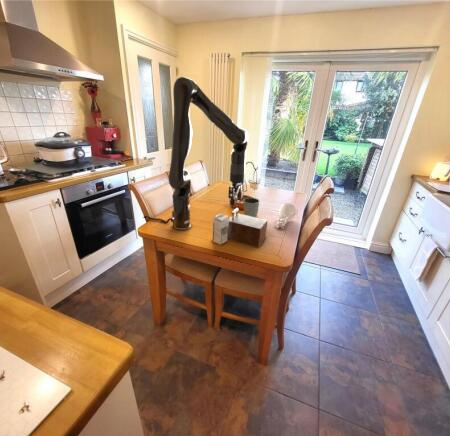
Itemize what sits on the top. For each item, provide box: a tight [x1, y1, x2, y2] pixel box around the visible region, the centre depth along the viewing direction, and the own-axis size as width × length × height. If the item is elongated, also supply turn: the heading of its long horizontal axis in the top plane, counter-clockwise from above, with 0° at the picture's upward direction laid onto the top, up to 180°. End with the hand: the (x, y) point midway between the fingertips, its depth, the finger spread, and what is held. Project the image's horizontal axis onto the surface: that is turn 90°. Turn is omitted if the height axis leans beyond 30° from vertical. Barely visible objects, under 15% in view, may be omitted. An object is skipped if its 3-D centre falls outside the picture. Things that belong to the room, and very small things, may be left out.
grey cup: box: [242, 197, 260, 218], centre depth 149 cm, size 10×10×12 cm
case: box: [228, 221, 268, 248], centre depth 125 cm, size 18×12×10 cm, turn 64°
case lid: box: [229, 207, 268, 230], centre depth 122 cm, size 18×12×5 cm, turn 64°
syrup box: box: [212, 213, 230, 246], centre depth 120 cm, size 6×6×14 cm
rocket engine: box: [275, 202, 298, 230], centre depth 143 cm, size 12×12×18 cm
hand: (235, 202), depth 122 cm, fingers open, 8 cm apart
